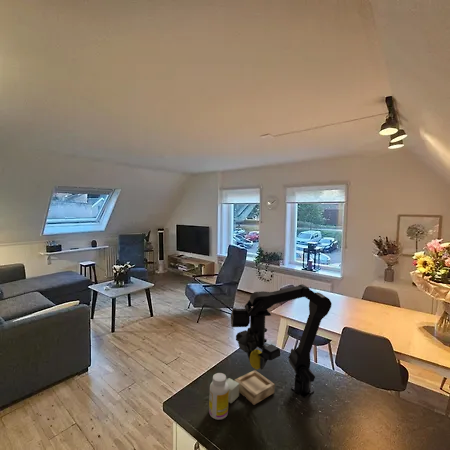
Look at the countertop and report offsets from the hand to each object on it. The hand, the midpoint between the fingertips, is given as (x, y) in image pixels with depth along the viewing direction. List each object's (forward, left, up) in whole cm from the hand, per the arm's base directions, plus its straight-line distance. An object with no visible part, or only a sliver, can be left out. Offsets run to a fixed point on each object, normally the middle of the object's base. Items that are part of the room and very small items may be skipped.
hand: (256, 365), depth 98 cm
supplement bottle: (+18, 0, -11) cm, 21 cm away
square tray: (-1, -1, -11) cm, 11 cm away
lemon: (0, 0, -2) cm, 2 cm away
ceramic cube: (+9, -4, -11) cm, 15 cm away
